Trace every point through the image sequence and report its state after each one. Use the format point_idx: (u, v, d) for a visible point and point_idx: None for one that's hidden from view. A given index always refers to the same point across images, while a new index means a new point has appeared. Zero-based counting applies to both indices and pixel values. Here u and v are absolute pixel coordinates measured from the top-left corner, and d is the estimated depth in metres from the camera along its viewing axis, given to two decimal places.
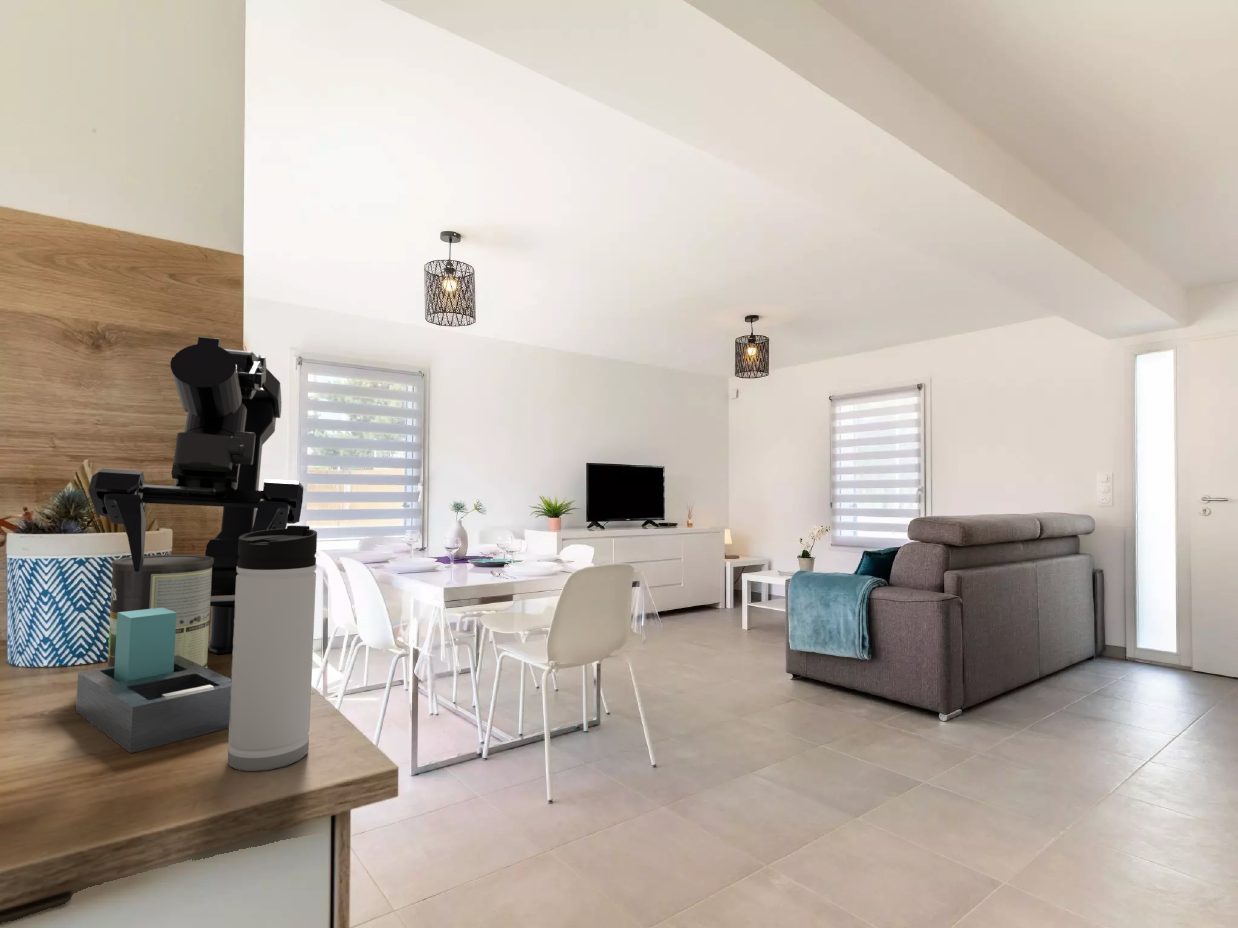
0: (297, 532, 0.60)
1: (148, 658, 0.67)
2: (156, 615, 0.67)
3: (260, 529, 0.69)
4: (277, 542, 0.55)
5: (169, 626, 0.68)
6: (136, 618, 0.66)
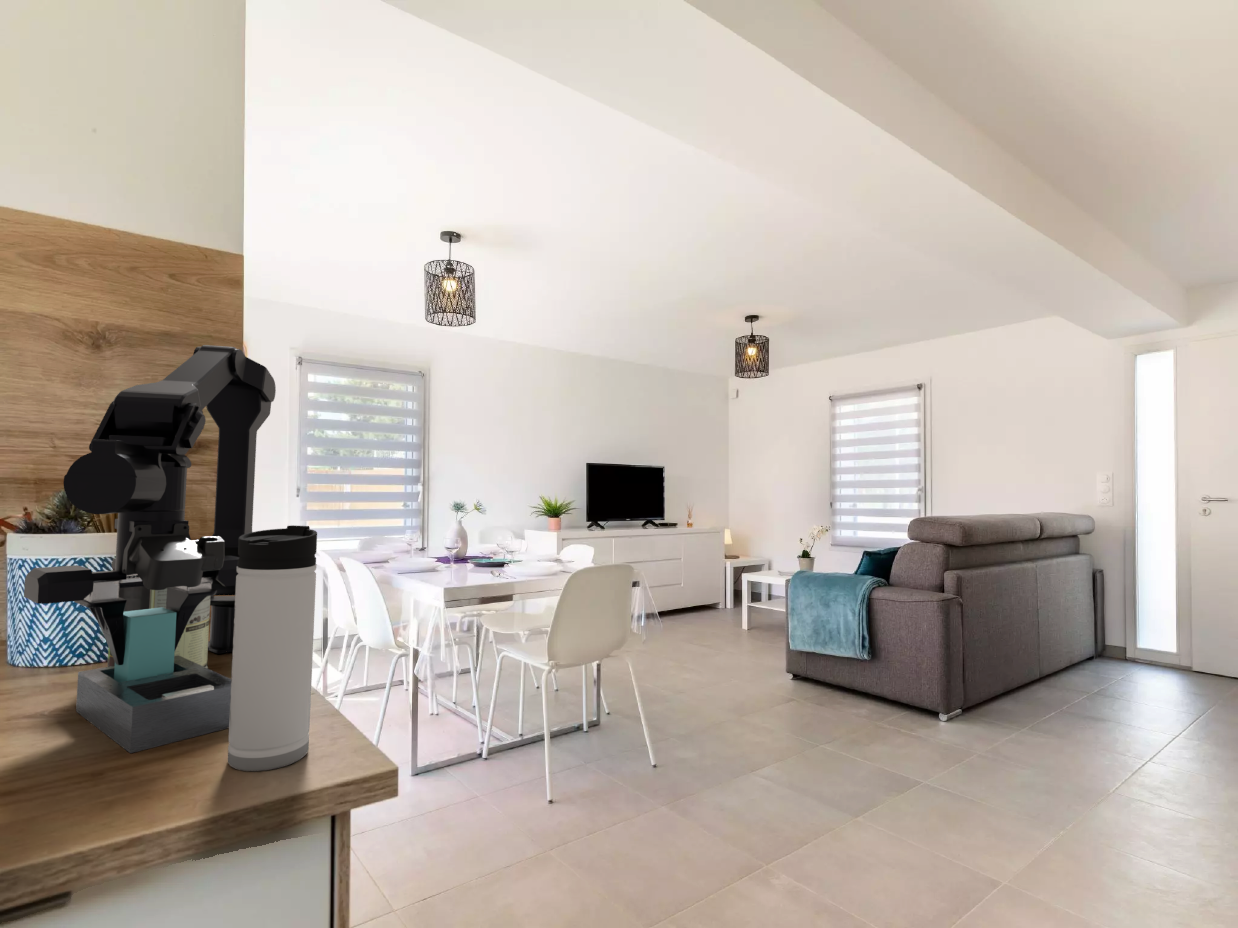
0: (297, 532, 0.60)
1: (148, 658, 0.67)
2: (156, 615, 0.67)
3: (185, 615, 0.70)
4: (277, 542, 0.55)
5: (169, 626, 0.68)
6: (136, 618, 0.66)
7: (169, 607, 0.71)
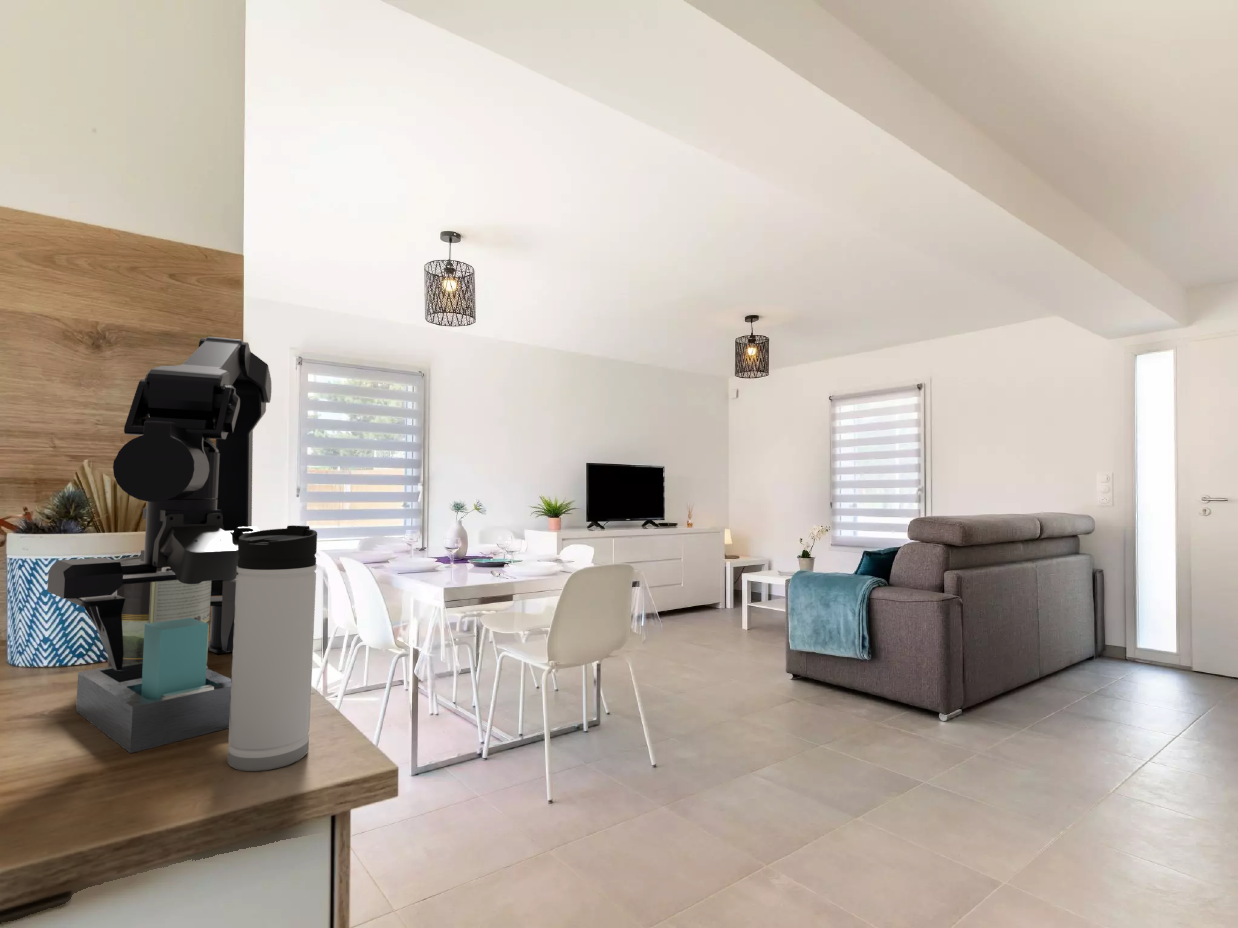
0: (297, 532, 0.60)
1: (179, 673, 0.62)
2: (187, 627, 0.63)
3: None
4: (277, 542, 0.55)
5: (201, 638, 0.63)
6: (166, 630, 0.61)
7: (226, 600, 0.68)
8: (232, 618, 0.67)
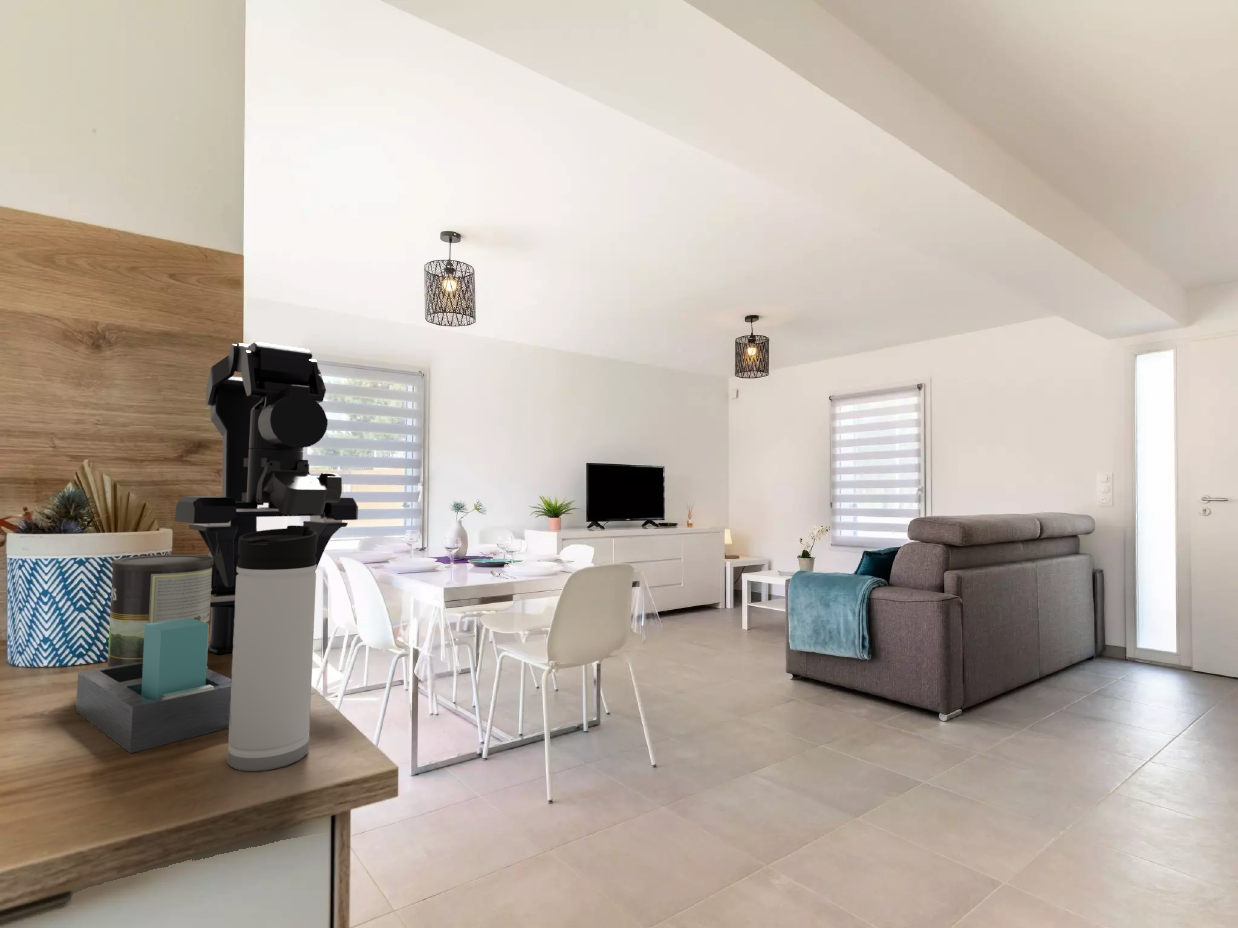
0: (297, 532, 0.60)
1: (179, 673, 0.62)
2: (187, 627, 0.63)
3: (323, 543, 0.81)
4: (277, 542, 0.55)
5: (201, 638, 0.63)
6: (166, 630, 0.61)
7: None
8: None
